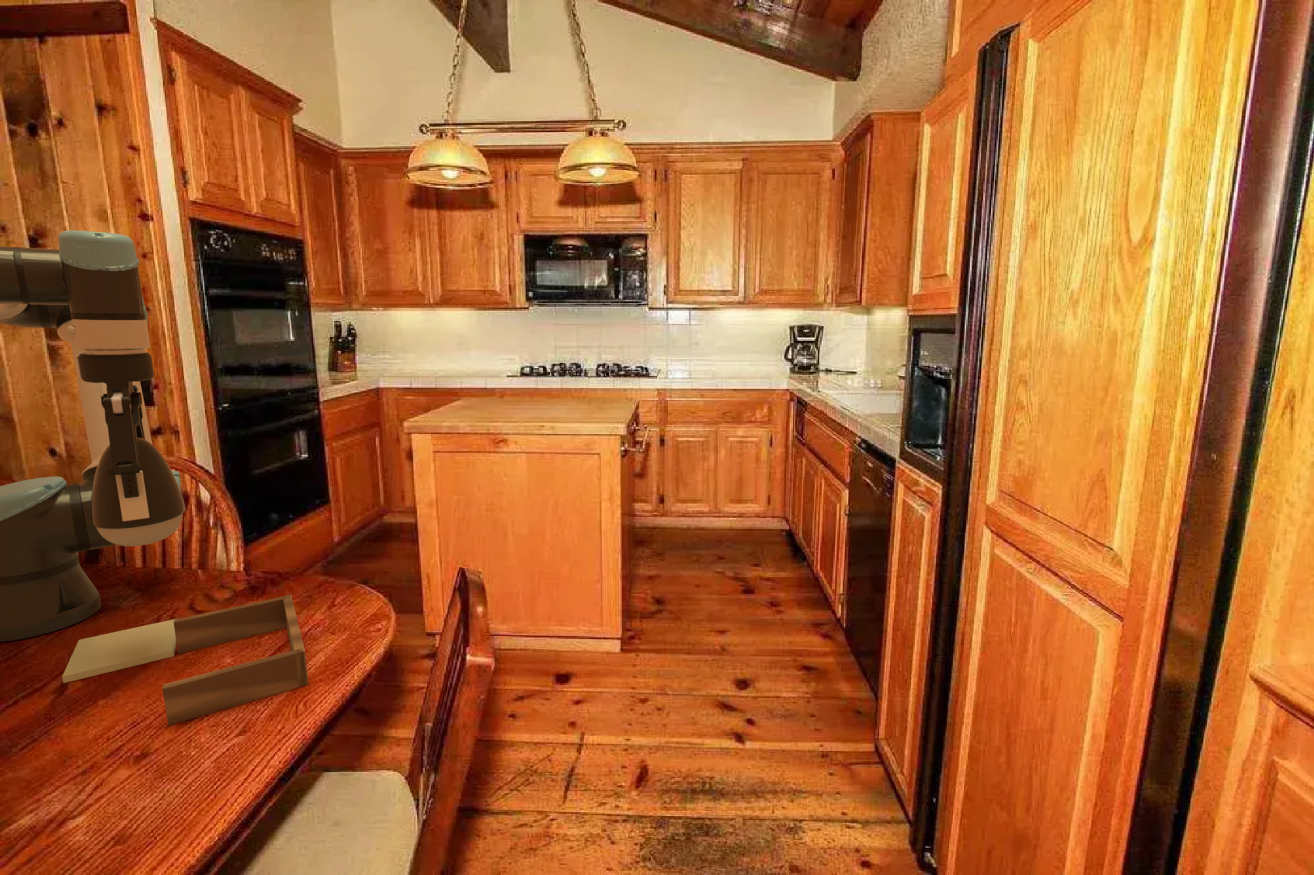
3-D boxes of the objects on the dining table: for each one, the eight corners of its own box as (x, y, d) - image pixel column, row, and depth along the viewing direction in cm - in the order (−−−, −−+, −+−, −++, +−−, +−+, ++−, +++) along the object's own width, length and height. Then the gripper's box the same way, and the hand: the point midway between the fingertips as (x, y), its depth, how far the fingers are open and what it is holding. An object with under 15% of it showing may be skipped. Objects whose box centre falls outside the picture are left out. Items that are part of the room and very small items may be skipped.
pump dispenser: (190, 522, 94) (177, 427, 91) (185, 544, 86) (171, 440, 83) (103, 534, 89) (86, 433, 85) (89, 559, 80) (69, 448, 77)
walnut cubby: (178, 650, 92) (174, 619, 91) (294, 622, 100) (291, 594, 99) (168, 725, 74) (162, 689, 74) (308, 684, 83) (305, 651, 82)
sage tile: (80, 645, 93) (79, 639, 93) (178, 624, 100) (177, 618, 99) (63, 683, 83) (62, 676, 83) (173, 656, 90) (172, 650, 90)
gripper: (88, 346, 88) (112, 492, 93) (61, 358, 70) (93, 537, 75) (154, 346, 93) (174, 484, 97) (145, 357, 75) (169, 526, 80)
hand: (139, 508), depth 86 cm, fingers closed on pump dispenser, 10 cm apart
